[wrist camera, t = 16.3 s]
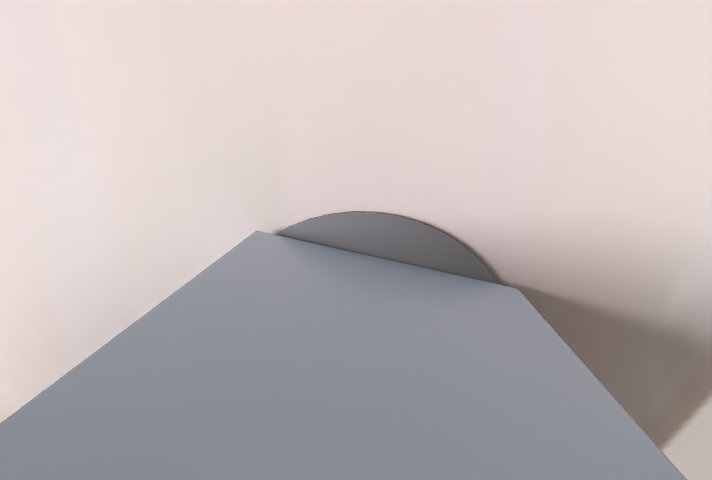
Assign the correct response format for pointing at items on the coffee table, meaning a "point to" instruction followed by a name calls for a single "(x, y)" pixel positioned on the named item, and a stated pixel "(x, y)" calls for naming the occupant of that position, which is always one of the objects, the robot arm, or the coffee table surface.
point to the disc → (391, 241)
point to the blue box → (330, 384)
